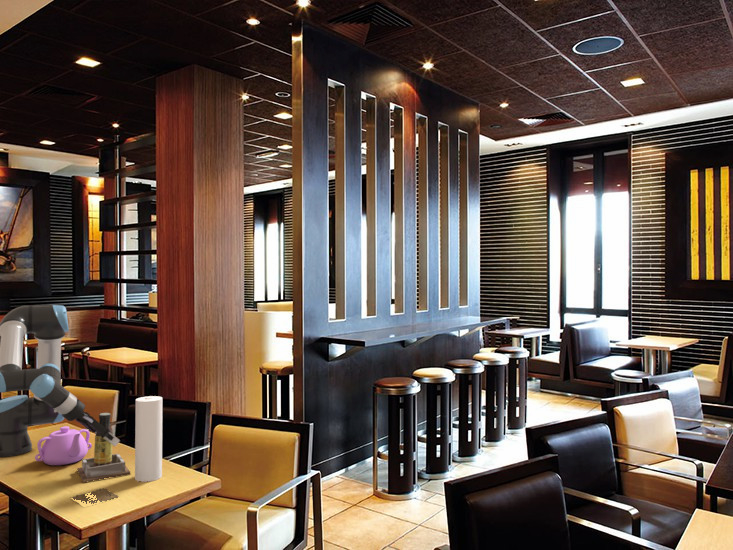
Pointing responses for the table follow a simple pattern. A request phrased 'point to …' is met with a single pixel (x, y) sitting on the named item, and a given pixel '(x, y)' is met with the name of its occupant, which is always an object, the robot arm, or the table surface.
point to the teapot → (63, 446)
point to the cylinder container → (148, 438)
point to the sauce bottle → (103, 443)
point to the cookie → (97, 496)
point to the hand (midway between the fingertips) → (113, 441)
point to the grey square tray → (102, 469)
